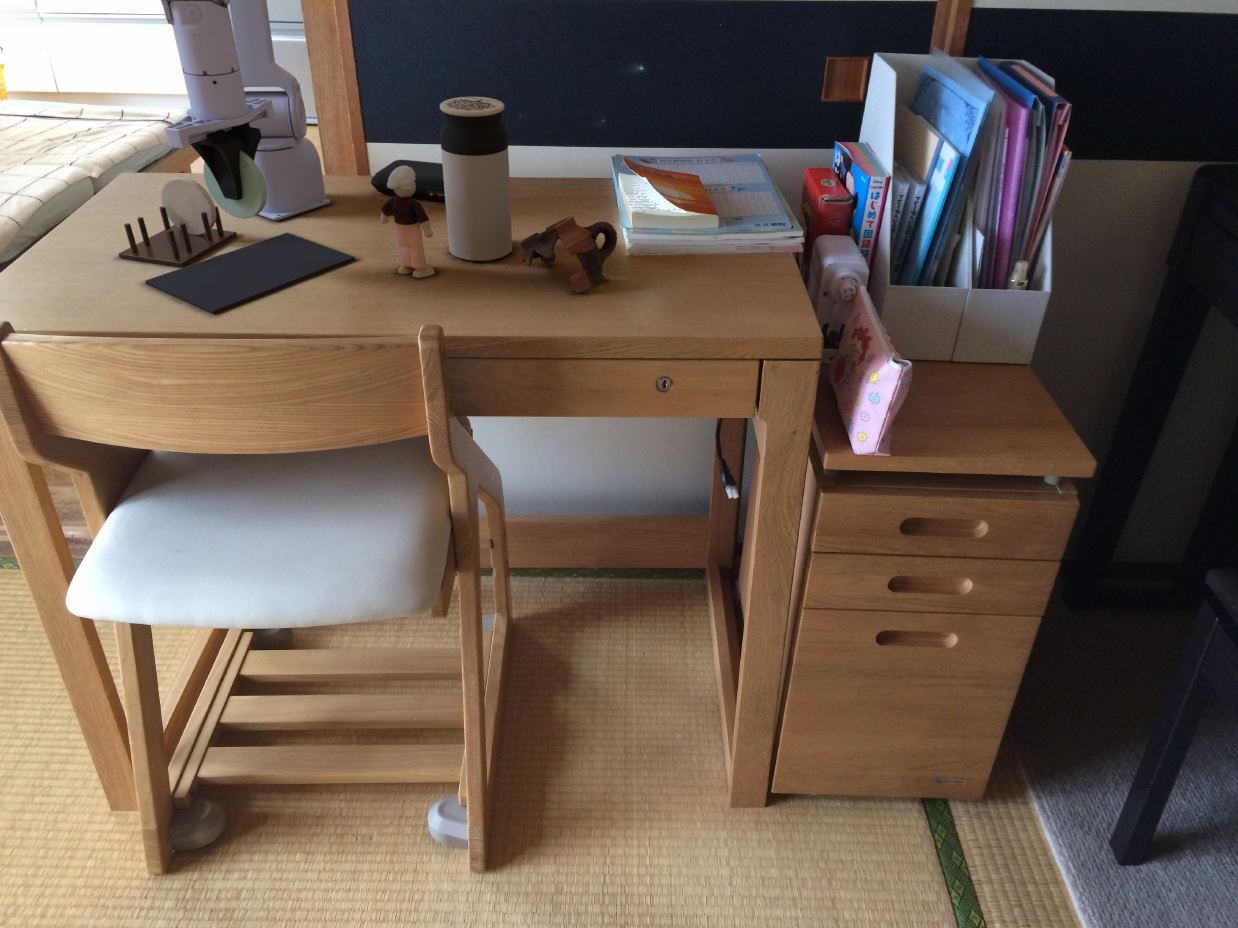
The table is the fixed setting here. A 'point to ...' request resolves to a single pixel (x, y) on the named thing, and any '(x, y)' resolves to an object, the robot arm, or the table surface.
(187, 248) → the plate rack
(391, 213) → the grandmother figurine
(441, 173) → the carrying case
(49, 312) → the table surface
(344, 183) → the table surface
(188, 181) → the cream saucer
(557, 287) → the table surface
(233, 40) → the robot arm
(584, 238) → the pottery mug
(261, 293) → the charcoal mat
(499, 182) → the travel mug
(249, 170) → the pale green plate
